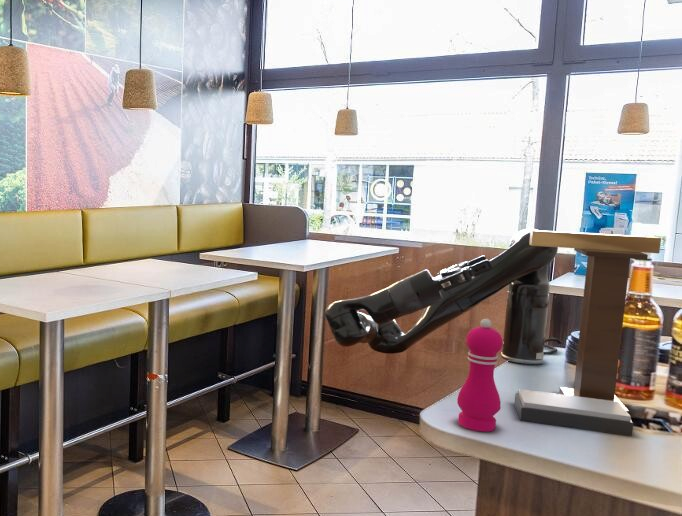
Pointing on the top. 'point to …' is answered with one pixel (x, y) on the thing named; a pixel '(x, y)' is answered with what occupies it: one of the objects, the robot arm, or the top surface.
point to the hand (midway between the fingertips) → (488, 261)
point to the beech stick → (595, 241)
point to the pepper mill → (480, 380)
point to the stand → (601, 323)
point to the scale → (573, 412)
